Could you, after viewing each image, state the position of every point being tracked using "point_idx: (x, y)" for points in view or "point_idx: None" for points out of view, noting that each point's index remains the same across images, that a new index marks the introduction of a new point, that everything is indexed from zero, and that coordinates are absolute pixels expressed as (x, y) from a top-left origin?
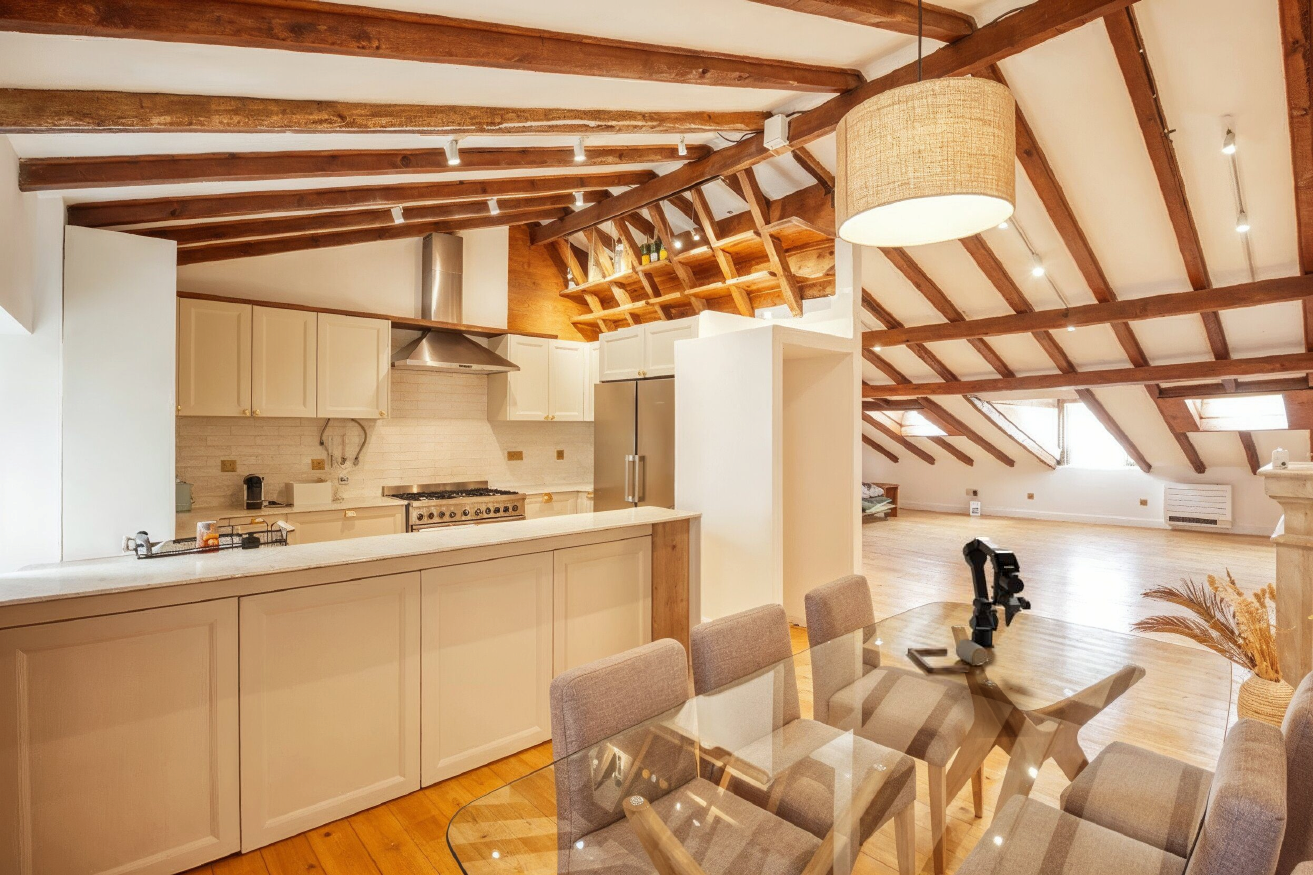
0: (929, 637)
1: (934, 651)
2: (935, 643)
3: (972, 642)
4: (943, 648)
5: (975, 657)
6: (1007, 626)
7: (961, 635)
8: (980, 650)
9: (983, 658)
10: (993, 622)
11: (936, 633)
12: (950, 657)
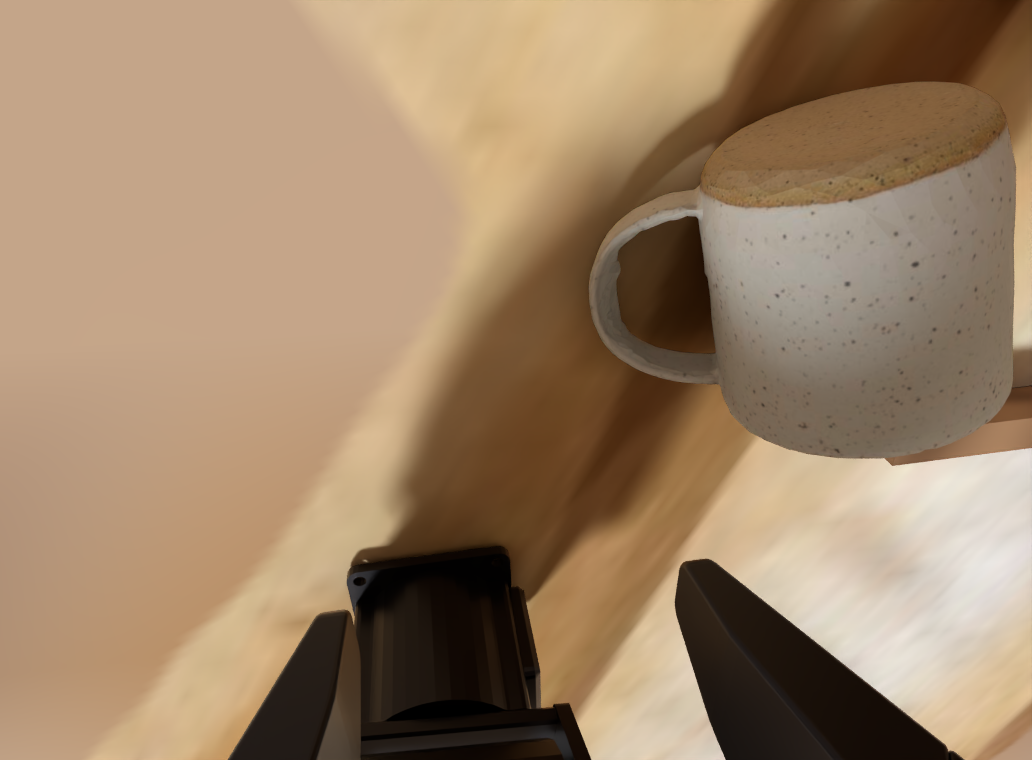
0: None
1: (1004, 405)
2: (810, 579)
3: (918, 343)
4: None
5: (940, 89)
6: (348, 617)
7: None
8: (924, 132)
9: (771, 142)
10: (819, 652)
11: (684, 718)
12: None
